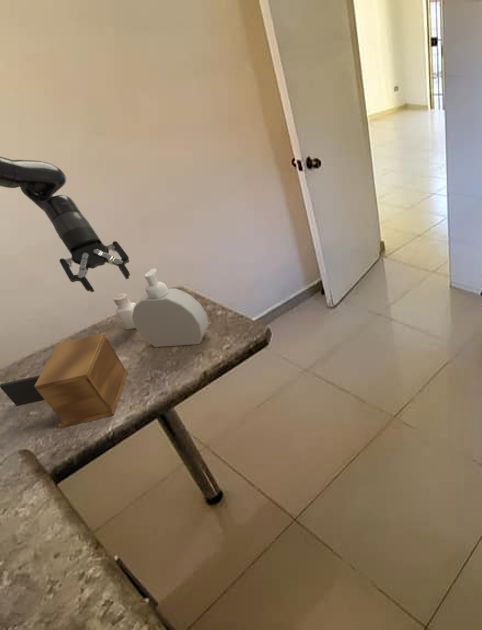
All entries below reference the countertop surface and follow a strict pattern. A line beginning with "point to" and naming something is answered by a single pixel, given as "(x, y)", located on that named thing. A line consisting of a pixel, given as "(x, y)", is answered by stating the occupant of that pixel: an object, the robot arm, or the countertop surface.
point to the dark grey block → (22, 391)
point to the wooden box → (82, 380)
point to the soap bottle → (169, 315)
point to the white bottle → (125, 310)
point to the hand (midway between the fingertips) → (110, 284)
